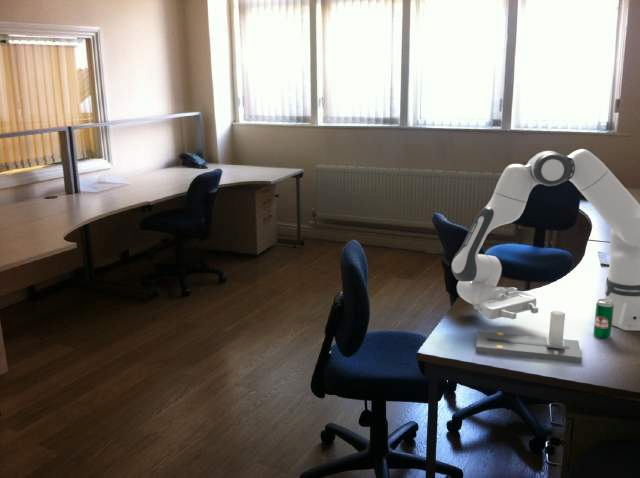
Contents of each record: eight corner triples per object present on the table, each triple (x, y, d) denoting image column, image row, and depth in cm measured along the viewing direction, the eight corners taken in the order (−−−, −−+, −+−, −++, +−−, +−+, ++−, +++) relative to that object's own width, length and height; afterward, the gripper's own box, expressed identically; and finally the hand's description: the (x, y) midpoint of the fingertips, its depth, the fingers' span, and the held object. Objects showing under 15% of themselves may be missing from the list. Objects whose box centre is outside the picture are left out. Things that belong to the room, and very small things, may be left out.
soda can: (590, 336, 203) (594, 301, 200) (597, 331, 207) (600, 297, 203) (606, 341, 200) (610, 305, 197) (613, 336, 203) (616, 300, 200)
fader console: (577, 346, 196) (578, 339, 196) (581, 363, 185) (581, 356, 184) (477, 336, 205) (478, 330, 204) (475, 352, 194) (475, 345, 193)
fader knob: (563, 341, 193) (566, 311, 191) (564, 348, 189) (567, 317, 186) (546, 340, 195) (548, 309, 192) (546, 346, 190) (549, 315, 188)
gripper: (471, 297, 207) (501, 310, 195) (517, 286, 216) (549, 298, 204) (470, 315, 209) (500, 329, 197) (516, 303, 218) (547, 317, 206)
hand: (525, 313), depth 201 cm, fingers open, 8 cm apart
